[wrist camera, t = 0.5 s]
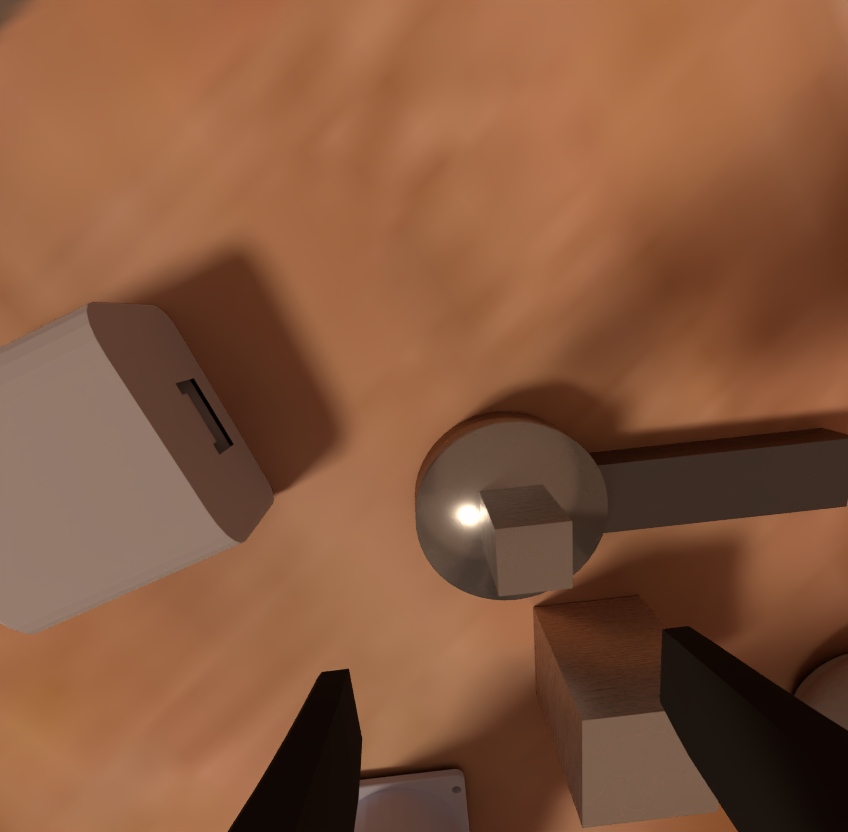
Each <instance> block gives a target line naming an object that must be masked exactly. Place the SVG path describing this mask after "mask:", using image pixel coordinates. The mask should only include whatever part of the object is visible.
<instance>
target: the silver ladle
mask: <svg viewBox="0 0 848 832" xmlns="http://www.w3.org/2000/svg"><path fill="white" fill-rule="evenodd" d="M847 500H848V435H847V434H843V433H839V432H835V431H832V430H828V429H824V428H817V429H808V430H799V431H789V432H780V433H771V434H761V435H752V436H743V437H733V438H724V439H715V440H705V441H696V442H687V443H677V444H668V445H658V446H649V447H640V448H630V449H621V450H612V451H602V452H593V453H588V452H587V451H586V450H585V449H584V448H583V447H582V446H581V445H580V444H578V443H577V442H575V441H574V440H573V439H571V438H570V437H569V436H567V435H566V434H565V433H563V432H562V431H560V430H559V429H558V428H556V427H555V426H554V425H552V424H551V423H549V422H547V421H545V420H543V419H541V418H539V417H536V416H533V415H531V414H526V413H522V412H513V411H496V412H490V413H484V414H481V415H478V416H475V417H472V418H470V419H467V420H465V421H463V422H461V423H459V424H458V425H456V426H454V427H453V428H451V429H450V430H449V431H448V432H446V433H445V434H444V435H443V436H442V437H441V438H440V439H439V440H438V441H437V442H436V443H435V444H434V445H433V447H432V448H431V449H430V451H429V452H428V453H427V455H426V457H425V459H424V461H423V462H422V465H421V467H420V470H419V472H418V477H417V481H416V487H415V511H416V529H417V534H418V539H419V542H420V545H421V548H422V550H423V552H424V554H425V556H426V558H427V560H428V561H429V563H430V564H431V565H432V567H433V568H434V569H435V570H436V571H437V572H438V574H439V575H440V576H441V577H443V578H444V579H445V580H446V581H448V582H449V583H450V584H452V585H453V586H455V587H457V588H458V589H460V590H462V591H464V592H467V593H469V594H472V595H475V596H478V597H482V598H487V599H493V600H516V599H522V598H528V597H532V596H535V595H539V594H542V593H544V592H546V591H553V590H562V589H571V588H573V575H574V574H575V573H576V572H578V571H579V570H580V569H581V568H582V567H583V565H584V564H585V563H586V562H587V561H588V560H589V558H590V557H591V555H592V554H593V553H594V551H595V549H596V548H597V546H598V544H599V542H600V540H601V537H602V535H603V533H608V532H618V531H627V530H636V529H645V528H654V527H663V526H672V525H681V524H690V523H700V522H709V521H718V520H727V519H736V518H745V517H754V516H763V515H772V514H781V513H791V512H800V511H809V510H818V509H827V508H836V507H845V506H847Z"/></svg>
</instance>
